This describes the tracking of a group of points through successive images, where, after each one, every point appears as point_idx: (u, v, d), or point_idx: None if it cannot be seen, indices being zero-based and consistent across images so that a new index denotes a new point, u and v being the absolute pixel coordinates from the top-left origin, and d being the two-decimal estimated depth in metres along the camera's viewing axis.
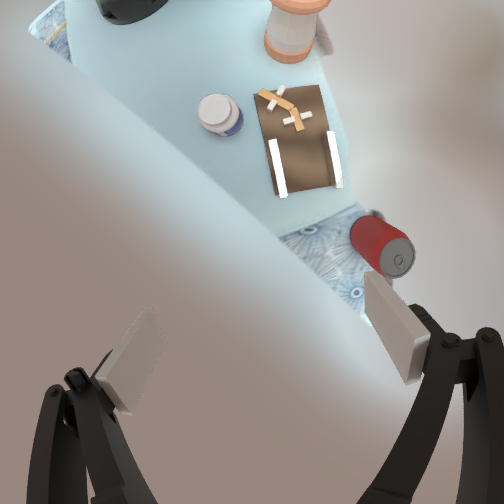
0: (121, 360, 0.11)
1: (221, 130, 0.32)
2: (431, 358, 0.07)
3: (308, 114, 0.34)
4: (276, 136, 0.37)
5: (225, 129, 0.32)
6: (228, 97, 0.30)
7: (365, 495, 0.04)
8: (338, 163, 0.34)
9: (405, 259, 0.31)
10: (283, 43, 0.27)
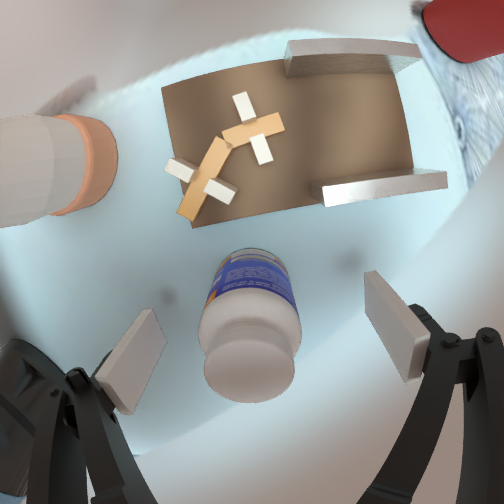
0: (121, 360, 0.11)
1: (299, 333, 0.13)
2: (431, 358, 0.07)
3: (243, 100, 0.13)
4: (296, 178, 0.17)
5: (298, 324, 0.13)
6: (209, 320, 0.13)
7: (365, 495, 0.04)
8: (370, 42, 0.10)
9: None
10: (53, 182, 0.11)
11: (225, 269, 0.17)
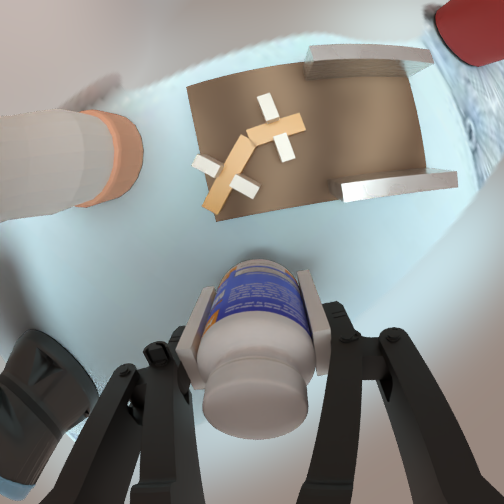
0: (199, 332, 0.13)
1: (314, 362, 0.11)
2: (332, 356, 0.09)
3: (267, 101, 0.14)
4: (316, 175, 0.17)
5: (312, 352, 0.11)
6: (209, 348, 0.10)
7: (302, 491, 0.04)
8: (385, 47, 0.10)
9: None
10: (83, 174, 0.12)
11: (229, 284, 0.14)
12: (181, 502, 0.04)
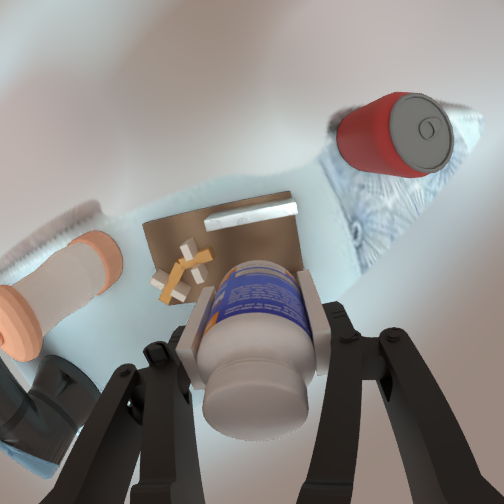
0: (199, 332, 0.13)
1: (314, 364, 0.11)
2: (332, 356, 0.09)
3: (186, 249, 0.26)
4: None
5: (313, 354, 0.11)
6: (209, 349, 0.10)
7: (302, 491, 0.04)
8: (256, 212, 0.23)
9: (424, 113, 0.13)
10: (91, 292, 0.24)
11: (229, 285, 0.14)
12: (181, 502, 0.04)
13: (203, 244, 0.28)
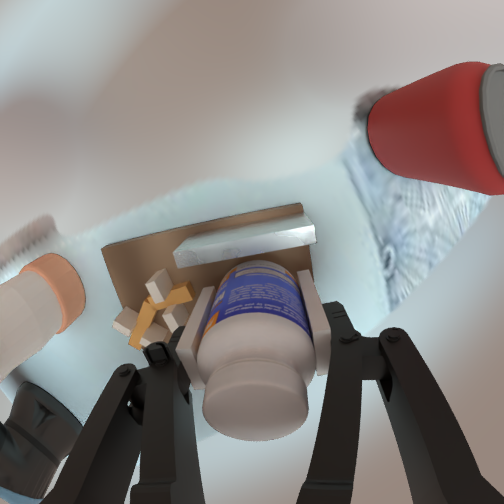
0: (199, 332, 0.13)
1: (314, 364, 0.11)
2: (331, 356, 0.09)
3: (153, 288, 0.18)
4: None
5: (313, 354, 0.11)
6: (209, 349, 0.10)
7: (302, 491, 0.04)
8: (252, 240, 0.15)
9: None
10: (43, 337, 0.16)
11: (229, 285, 0.14)
12: (181, 502, 0.04)
13: (180, 277, 0.20)
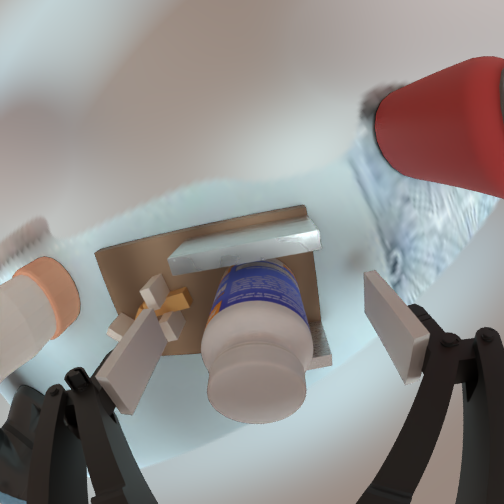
0: (122, 360, 0.11)
1: (311, 349, 0.12)
2: (430, 358, 0.07)
3: (148, 295, 0.17)
4: None
5: (309, 340, 0.12)
6: (212, 335, 0.11)
7: (365, 495, 0.04)
8: (252, 246, 0.14)
9: None
10: (36, 344, 0.15)
11: (230, 278, 0.15)
12: None
13: (176, 283, 0.19)
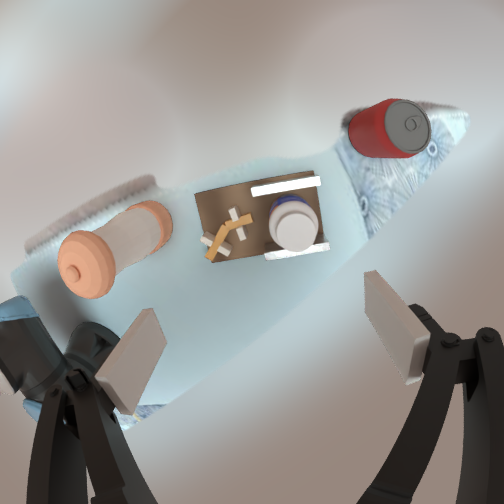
0: (121, 360, 0.11)
1: (317, 223, 0.28)
2: (431, 358, 0.07)
3: (233, 212, 0.33)
4: (259, 241, 0.37)
5: (316, 218, 0.28)
6: (276, 213, 0.28)
7: (365, 495, 0.04)
8: (291, 182, 0.30)
9: (409, 113, 0.20)
10: (150, 246, 0.32)
11: (278, 200, 0.32)
12: None
13: (245, 210, 0.36)
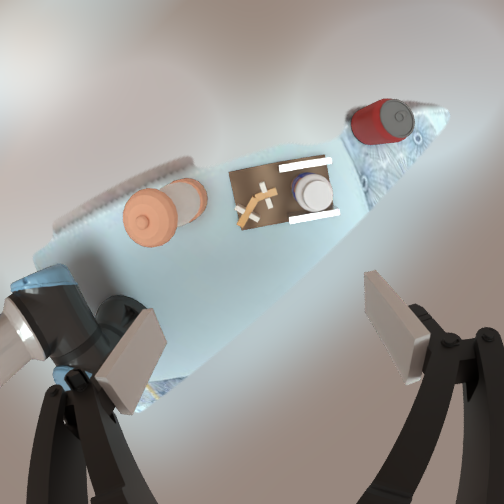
0: (121, 360, 0.11)
1: (332, 190, 0.36)
2: (431, 358, 0.07)
3: (263, 185, 0.41)
4: (282, 211, 0.44)
5: (331, 187, 0.36)
6: (301, 182, 0.36)
7: (365, 495, 0.04)
8: (309, 161, 0.38)
9: (398, 109, 0.28)
10: (194, 212, 0.39)
11: (299, 175, 0.40)
12: None
13: (270, 185, 0.43)
